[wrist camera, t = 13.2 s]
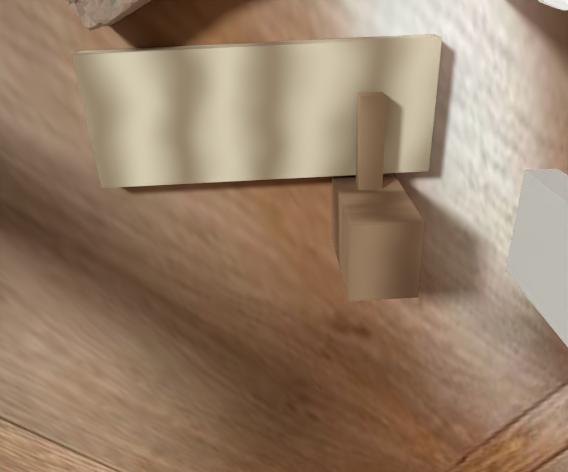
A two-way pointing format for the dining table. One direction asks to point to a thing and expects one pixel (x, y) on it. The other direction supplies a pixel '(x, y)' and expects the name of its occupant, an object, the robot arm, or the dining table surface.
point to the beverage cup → (556, 3)
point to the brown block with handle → (375, 217)
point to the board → (254, 108)
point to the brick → (104, 11)
